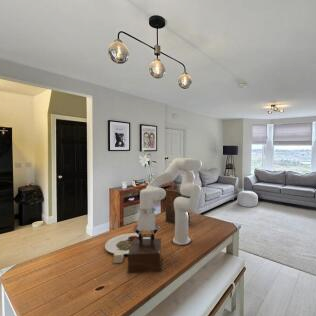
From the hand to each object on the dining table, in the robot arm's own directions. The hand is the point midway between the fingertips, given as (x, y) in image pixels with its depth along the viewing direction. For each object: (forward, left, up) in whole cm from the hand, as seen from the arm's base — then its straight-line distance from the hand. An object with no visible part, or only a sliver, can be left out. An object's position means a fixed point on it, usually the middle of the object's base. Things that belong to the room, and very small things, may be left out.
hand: (146, 240), depth 114 cm
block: (-1, -16, -12) cm, 20 cm away
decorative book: (-59, +20, -12) cm, 63 cm away
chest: (+4, 0, -12) cm, 12 cm away
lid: (+4, 0, -2) cm, 4 cm away
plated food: (-20, -14, -12) cm, 27 cm away
